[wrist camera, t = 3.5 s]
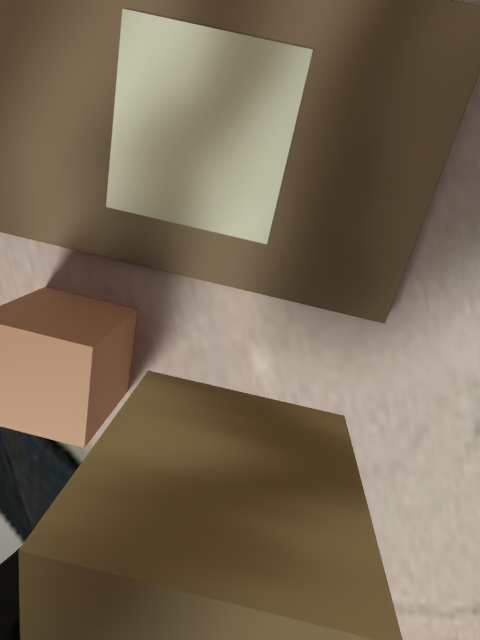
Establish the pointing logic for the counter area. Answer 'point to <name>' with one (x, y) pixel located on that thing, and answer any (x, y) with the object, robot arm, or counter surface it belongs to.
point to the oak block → (209, 528)
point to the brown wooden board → (235, 135)
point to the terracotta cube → (63, 363)
